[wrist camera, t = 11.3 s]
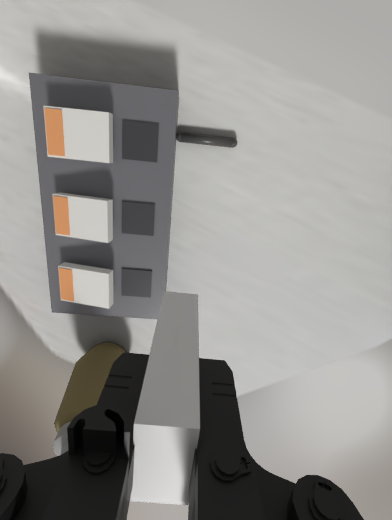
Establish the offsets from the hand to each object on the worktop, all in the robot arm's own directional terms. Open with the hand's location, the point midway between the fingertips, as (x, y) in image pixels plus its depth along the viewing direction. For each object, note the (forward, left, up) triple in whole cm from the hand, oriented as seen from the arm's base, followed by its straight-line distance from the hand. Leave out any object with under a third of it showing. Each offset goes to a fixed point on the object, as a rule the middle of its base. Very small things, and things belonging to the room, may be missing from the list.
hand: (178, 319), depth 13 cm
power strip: (+5, +1, -25) cm, 25 cm away
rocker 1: (+10, -7, -19) cm, 23 cm away
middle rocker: (+10, +1, -19) cm, 22 cm away
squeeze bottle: (+9, +24, -25) cm, 35 cm away
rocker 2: (+10, +9, -19) cm, 23 cm away
